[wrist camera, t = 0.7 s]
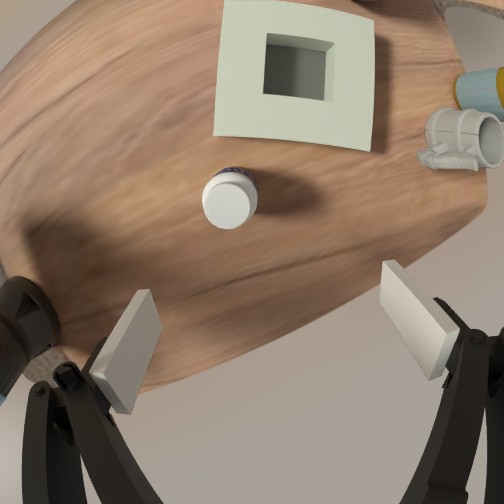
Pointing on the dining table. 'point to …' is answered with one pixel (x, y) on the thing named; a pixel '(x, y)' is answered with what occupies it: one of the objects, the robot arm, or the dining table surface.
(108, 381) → the robot arm
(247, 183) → the pill bottle
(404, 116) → the dining table surface
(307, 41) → the socket block
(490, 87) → the bottle
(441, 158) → the mug
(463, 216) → the dining table surface
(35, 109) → the dining table surface
